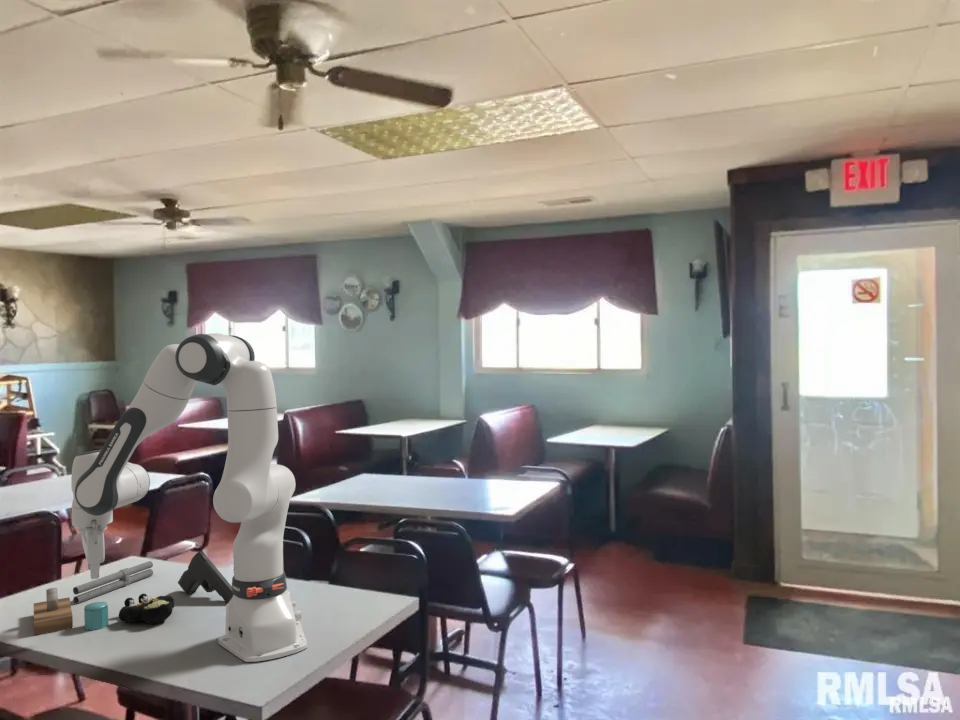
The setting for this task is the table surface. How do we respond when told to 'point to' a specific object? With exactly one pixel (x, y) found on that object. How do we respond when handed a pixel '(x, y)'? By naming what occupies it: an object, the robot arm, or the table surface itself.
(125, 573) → the metal rod assembly
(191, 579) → the pistol
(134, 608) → the toy
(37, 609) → the stud block
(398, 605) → the table surface
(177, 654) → the table surface
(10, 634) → the table surface
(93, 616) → the cap
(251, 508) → the robot arm
